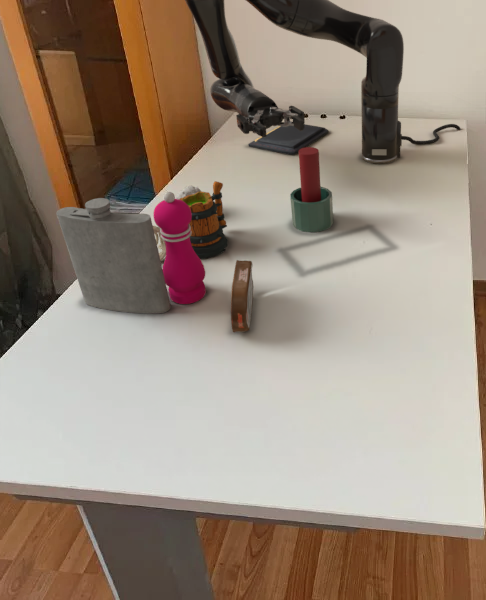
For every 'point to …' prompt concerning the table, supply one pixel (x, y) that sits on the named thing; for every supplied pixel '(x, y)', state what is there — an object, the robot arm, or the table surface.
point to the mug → (207, 222)
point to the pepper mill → (179, 251)
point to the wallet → (289, 139)
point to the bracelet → (162, 245)
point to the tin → (242, 296)
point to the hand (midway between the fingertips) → (283, 129)
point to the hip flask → (115, 258)
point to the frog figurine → (187, 191)
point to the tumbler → (312, 212)
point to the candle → (310, 174)
